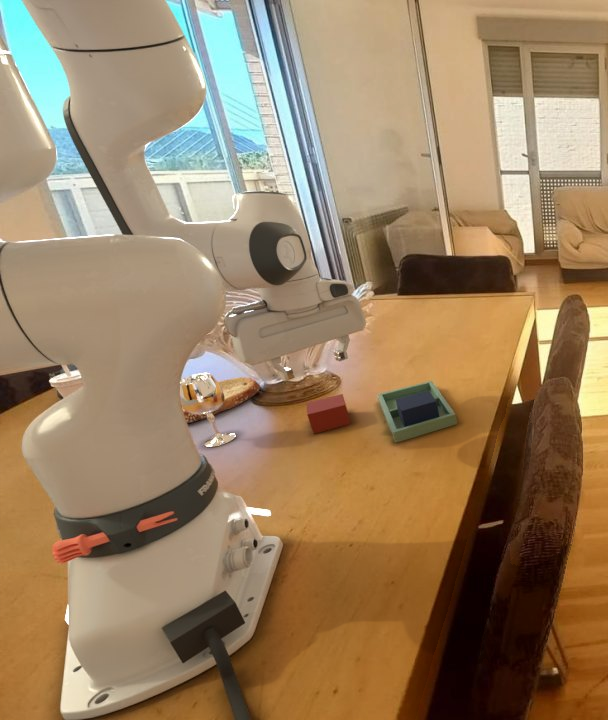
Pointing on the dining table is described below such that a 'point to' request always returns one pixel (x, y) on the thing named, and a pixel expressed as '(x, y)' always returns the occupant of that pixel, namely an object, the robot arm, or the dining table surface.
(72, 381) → the smoothie
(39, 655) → the dining table surface
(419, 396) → the pad
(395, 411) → the tray rib
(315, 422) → the red block
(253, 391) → the slice of bread
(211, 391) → the wineglass
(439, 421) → the tray
